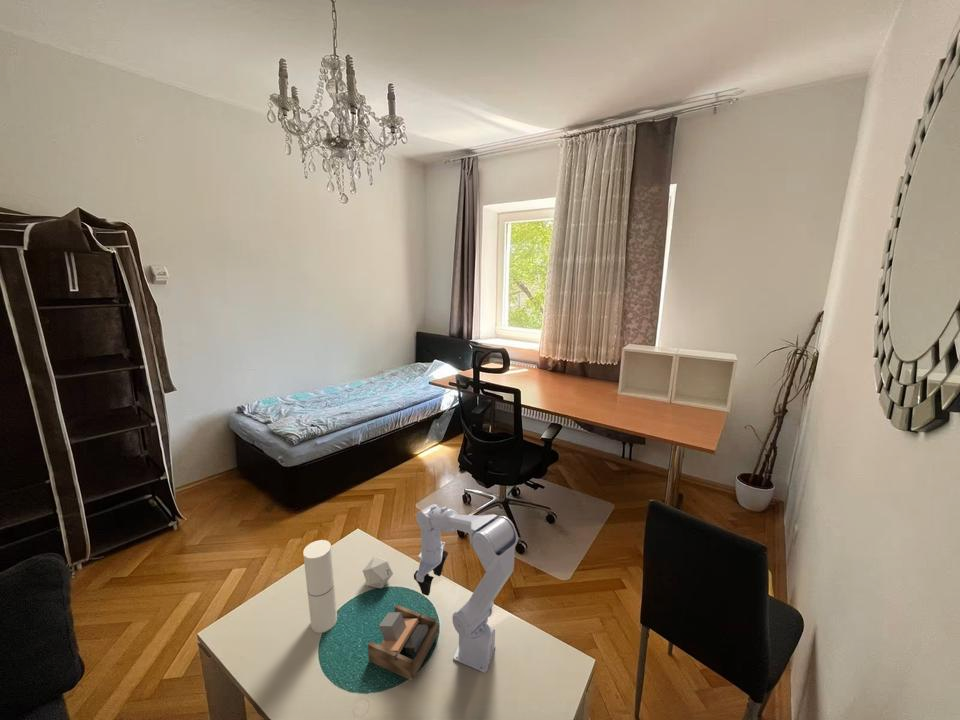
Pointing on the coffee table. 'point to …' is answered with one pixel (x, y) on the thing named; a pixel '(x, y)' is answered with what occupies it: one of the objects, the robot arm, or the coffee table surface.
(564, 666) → the coffee table surface
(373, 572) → the die
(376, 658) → the frame
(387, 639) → the stone
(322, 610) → the cylindrical container
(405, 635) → the trapdoor
